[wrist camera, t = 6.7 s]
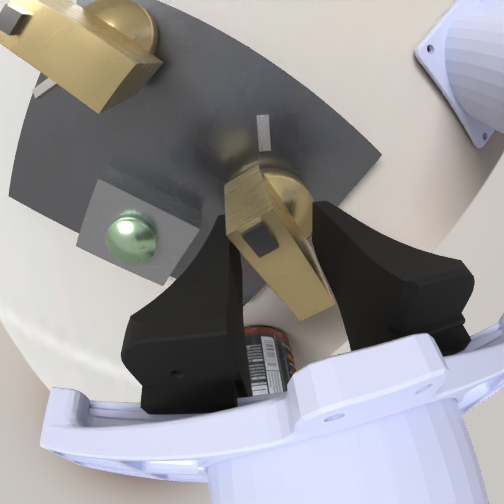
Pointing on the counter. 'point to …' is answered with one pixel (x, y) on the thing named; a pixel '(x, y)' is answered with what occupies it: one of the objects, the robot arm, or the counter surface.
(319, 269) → the knob
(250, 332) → the supplement bottle
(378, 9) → the counter surface
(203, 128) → the instrument base
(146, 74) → the knob
